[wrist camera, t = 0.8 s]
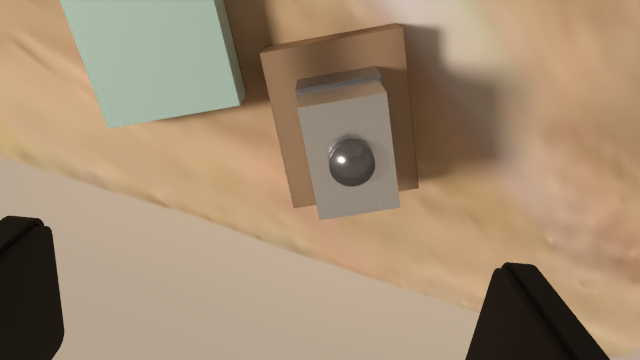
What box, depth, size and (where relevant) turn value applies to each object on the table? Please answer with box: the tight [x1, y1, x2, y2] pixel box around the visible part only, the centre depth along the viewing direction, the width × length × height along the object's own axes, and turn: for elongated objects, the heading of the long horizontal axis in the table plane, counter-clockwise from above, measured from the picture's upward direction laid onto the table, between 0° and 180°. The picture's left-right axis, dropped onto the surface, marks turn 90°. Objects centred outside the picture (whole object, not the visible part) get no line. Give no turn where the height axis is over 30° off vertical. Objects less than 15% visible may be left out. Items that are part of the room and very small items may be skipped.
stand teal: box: [60, 0, 246, 129], centre depth 29 cm, size 9×11×3 cm
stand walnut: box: [260, 23, 419, 208], centre depth 32 cm, size 9×11×3 cm
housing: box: [295, 66, 400, 220], centre depth 27 cm, size 5×7×7 cm
